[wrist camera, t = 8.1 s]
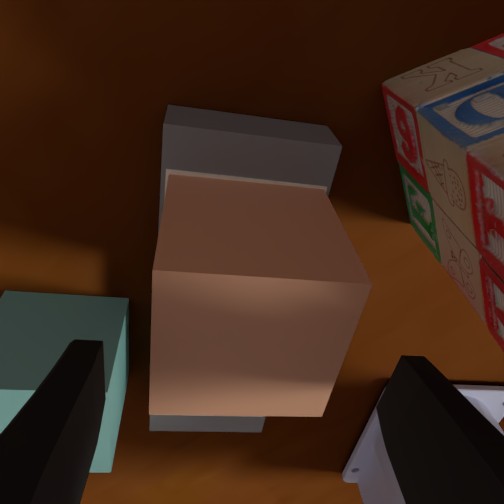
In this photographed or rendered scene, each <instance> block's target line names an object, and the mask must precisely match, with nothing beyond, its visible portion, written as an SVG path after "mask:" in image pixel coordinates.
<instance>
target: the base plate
mask: <svg viewBox="0 0 504 504" xmlns="http://www.w3.org/2000/svg"><path fill="white" fill-rule="evenodd" d="M341 150H342V145H341V144H340V142H339V141H338V140H337V138H336V137H335V135H334V134H333V133H332V131H331V130H330V129H329V127H328V126H325V125H317V124H310V123H303V122H295V121H288V120H280V119H273V118H265V117H258V116H251V115H243V114H236V113H228V112H221V111H213V110H206V109H198V108H191V107H184V106H176V105H169V104H168V107H167V111H166V115H165V119H164V122H163V139H162V161H161V183H160V205H159V228H158V235H159V229H160V223H161V218H162V212H163V206H164V200H165V194H166V189H167V183H168V177H169V174H175V175H185V176H195V177H205V178H215V179H225V180H236V181H246V182H256V183H266V184H276V185H286V186H296V187H306V188H316V189H324V190H325V192H326V194H327V196H329V192H330V188H331V185H332V181H333V178H334V174H335V171H336V167H337V164H338V160H339V157H340V153H341ZM265 418H266V416H220V415H150V427H149V431H198V432H262V428H263V425H264V421H265Z"/></svg>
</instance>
